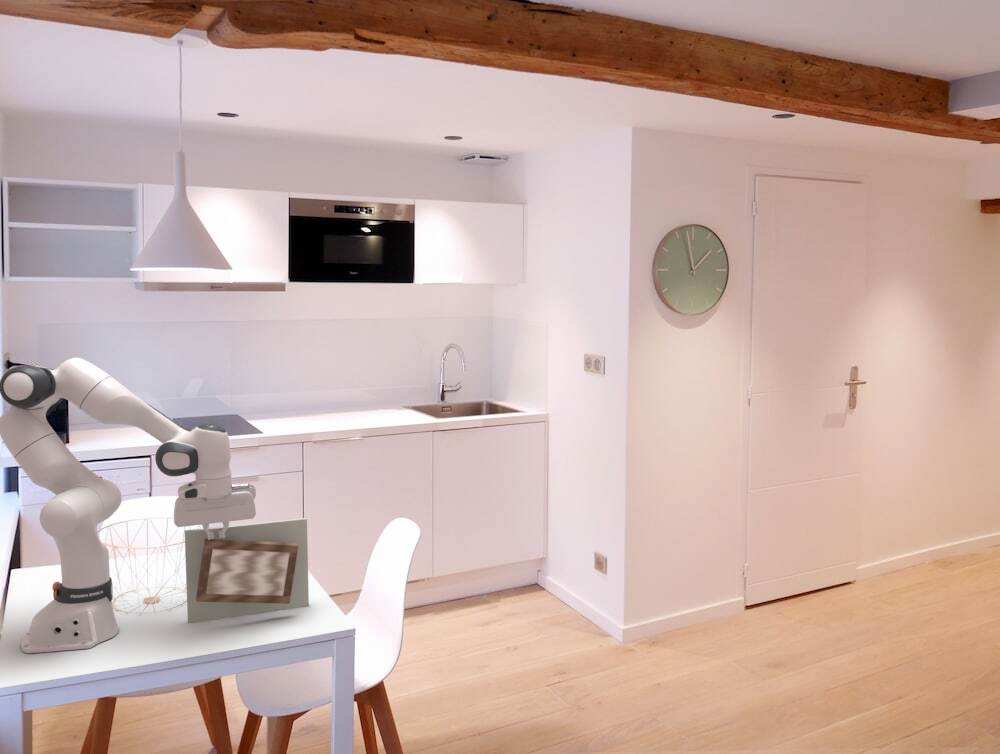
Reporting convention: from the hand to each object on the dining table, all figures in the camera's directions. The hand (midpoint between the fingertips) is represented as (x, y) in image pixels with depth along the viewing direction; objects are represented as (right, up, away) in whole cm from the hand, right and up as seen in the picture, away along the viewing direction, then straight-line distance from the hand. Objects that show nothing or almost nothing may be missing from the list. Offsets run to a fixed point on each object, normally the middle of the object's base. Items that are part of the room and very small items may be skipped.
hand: (216, 538), depth 226 cm
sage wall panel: (+6, -23, +10) cm, 26 cm away
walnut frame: (+6, -17, +5) cm, 19 cm away
